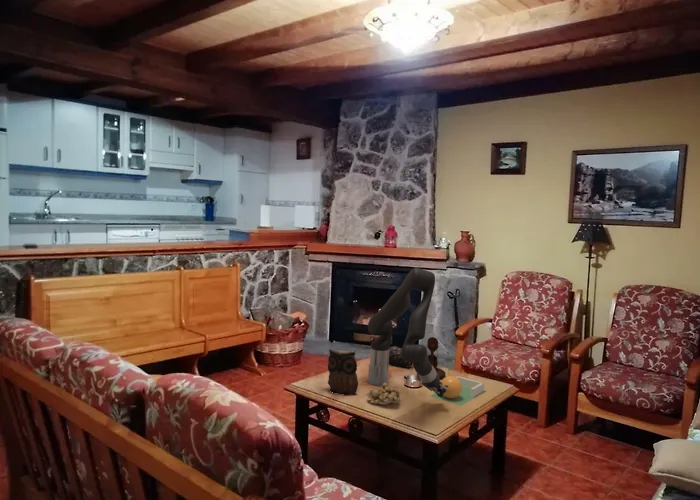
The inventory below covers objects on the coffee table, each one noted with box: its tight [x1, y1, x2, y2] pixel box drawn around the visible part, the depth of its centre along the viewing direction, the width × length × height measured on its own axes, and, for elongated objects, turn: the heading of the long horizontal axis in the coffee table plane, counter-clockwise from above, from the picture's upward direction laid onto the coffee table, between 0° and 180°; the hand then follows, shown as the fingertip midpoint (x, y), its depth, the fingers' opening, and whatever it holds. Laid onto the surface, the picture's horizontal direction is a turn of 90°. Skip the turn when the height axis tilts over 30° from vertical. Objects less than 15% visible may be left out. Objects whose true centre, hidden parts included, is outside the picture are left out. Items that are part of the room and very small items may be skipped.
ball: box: [440, 375, 462, 399], centre depth 237 cm, size 10×10×10 cm
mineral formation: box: [366, 383, 402, 407], centre depth 227 cm, size 8×13×15 cm
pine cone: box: [389, 345, 413, 370], centre depth 285 cm, size 10×18×10 cm, turn 57°
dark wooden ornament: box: [426, 336, 446, 381], centre depth 267 cm, size 15×15×20 cm
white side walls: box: [455, 375, 485, 398], centre depth 248 cm, size 12×14×4 cm
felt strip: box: [429, 386, 487, 407], centre depth 243 cm, size 26×16×1 cm, turn 140°
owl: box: [327, 348, 359, 396], centre depth 239 cm, size 13×13×20 cm
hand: (440, 395), depth 230 cm, fingers closed
